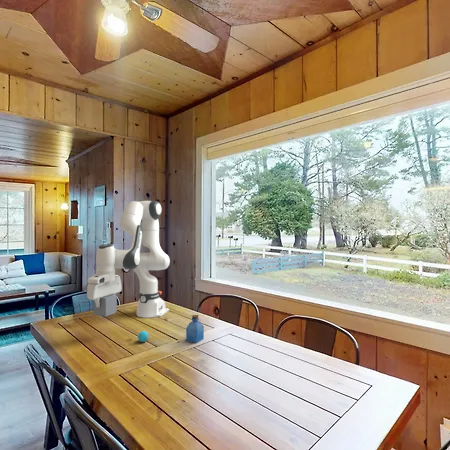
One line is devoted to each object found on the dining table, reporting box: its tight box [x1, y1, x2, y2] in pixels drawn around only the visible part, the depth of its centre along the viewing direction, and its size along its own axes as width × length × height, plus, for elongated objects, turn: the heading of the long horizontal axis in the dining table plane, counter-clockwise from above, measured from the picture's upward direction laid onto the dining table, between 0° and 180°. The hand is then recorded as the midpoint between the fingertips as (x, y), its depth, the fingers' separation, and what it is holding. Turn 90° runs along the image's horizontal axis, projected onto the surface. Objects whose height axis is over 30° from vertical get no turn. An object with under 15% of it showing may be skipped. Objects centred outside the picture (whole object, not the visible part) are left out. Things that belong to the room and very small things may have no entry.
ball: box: [137, 330, 149, 343], centre depth 148 cm, size 5×5×5 cm
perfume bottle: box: [185, 314, 205, 344], centre depth 151 cm, size 6×6×12 cm
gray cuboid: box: [93, 294, 118, 317], centre depth 151 cm, size 8×8×9 cm
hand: (105, 304), depth 151 cm, fingers closed on gray cuboid, 8 cm apart
